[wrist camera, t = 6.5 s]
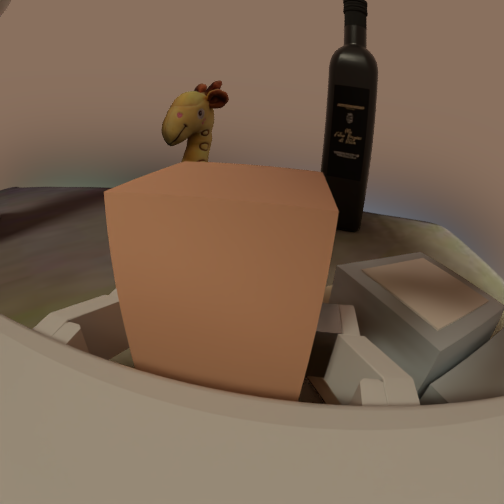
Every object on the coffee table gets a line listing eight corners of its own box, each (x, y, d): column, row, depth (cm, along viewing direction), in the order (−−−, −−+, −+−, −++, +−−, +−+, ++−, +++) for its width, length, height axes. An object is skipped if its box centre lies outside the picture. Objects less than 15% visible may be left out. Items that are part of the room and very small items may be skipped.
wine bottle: (358, 234, 34) (377, -6, 21) (312, 225, 35) (329, -10, 23) (359, 221, 39) (377, 12, 26) (319, 213, 40) (335, 7, 28)
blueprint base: (261, 310, 19) (268, 236, 17) (383, 284, 23) (398, 226, 21) (406, 512, 6) (486, 451, 4) (519, 397, 10) (562, 330, 8)
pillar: (162, 449, 10) (103, 191, 5) (194, 375, 14) (184, 161, 9) (274, 472, 9) (339, 211, 5) (286, 391, 13) (322, 172, 9)
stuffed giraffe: (107, 239, 29) (109, 83, 22) (229, 211, 41) (241, 96, 35) (203, 317, 19) (223, 55, 13) (331, 251, 32) (358, 105, 25)
